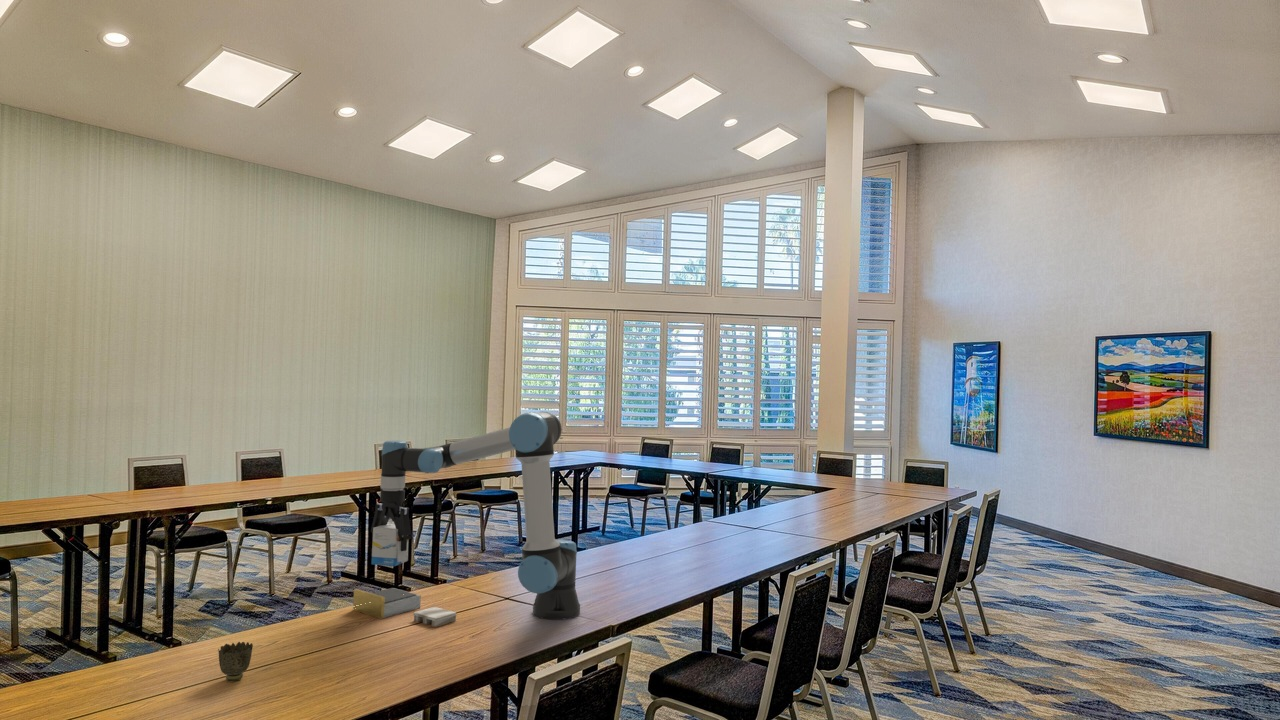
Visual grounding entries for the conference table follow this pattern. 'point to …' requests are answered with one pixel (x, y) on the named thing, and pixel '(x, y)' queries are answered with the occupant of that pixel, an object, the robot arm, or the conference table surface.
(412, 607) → the dock
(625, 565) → the conference table surface
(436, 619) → the block
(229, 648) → the cup
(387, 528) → the ink box
